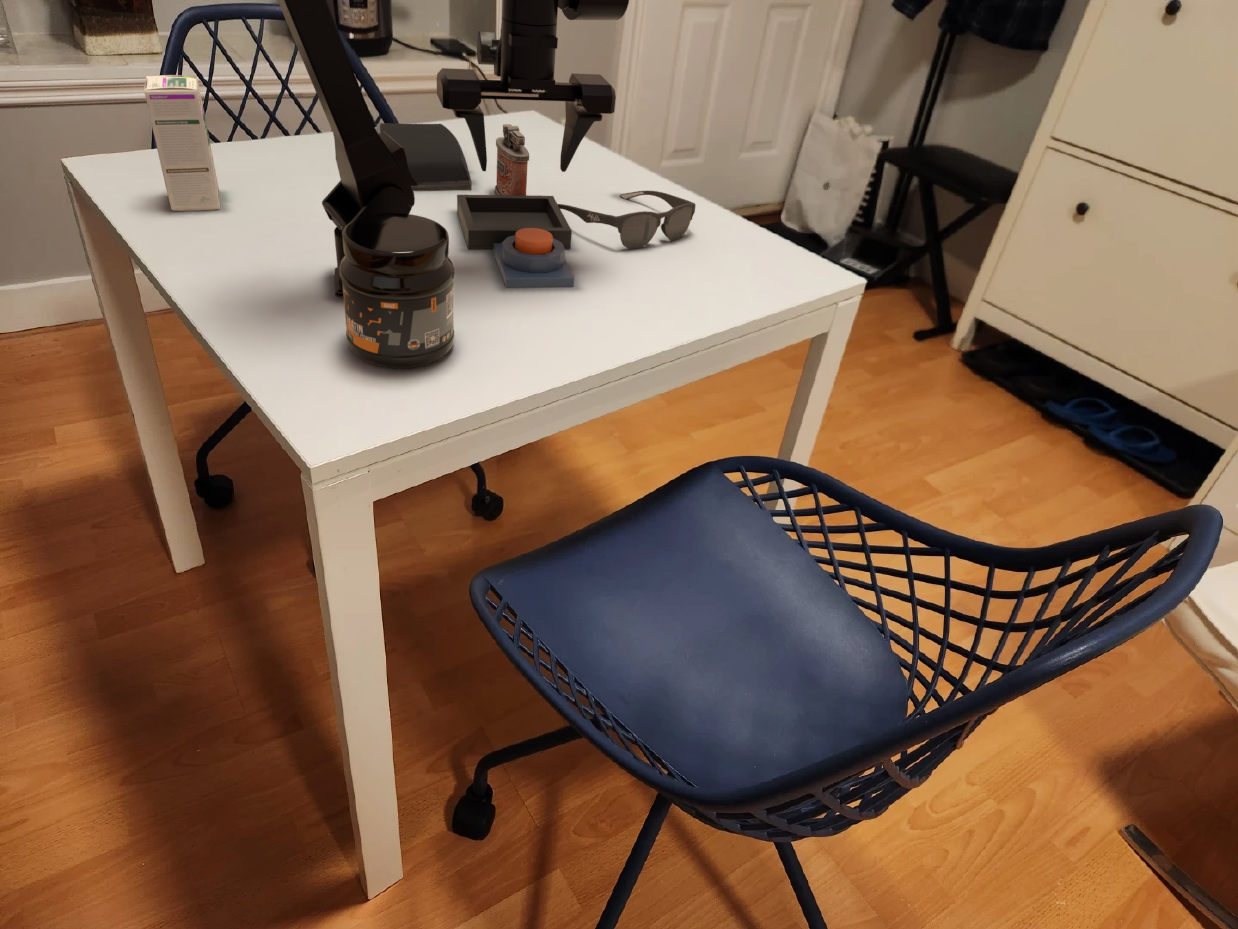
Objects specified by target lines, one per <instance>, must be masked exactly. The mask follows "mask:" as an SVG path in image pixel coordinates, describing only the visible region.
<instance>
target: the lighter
mask: <svg viewBox="0 0 1238 929" xmlns="http://www.w3.org/2000/svg"><path fill="white" fill-rule="evenodd" d="M502 134H503V136H500V137H497V138H496V139H495V146H496V149H497V150H496V151H497V152H496V183H495V184H496V185H495V186H494V195H527V184H528V162H529V161H530V152H529V150H528V149H527V147H525V145H526V144H525V143H526V137H525V136H524V134H523V133H522V132H521V131H520V127H519V126H518V125H512V124H510V123H503V124H502Z"/></svg>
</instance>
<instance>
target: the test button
mask: <svg viewBox="0 0 1238 929" xmlns="http://www.w3.org/2000/svg"><path fill="white" fill-rule="evenodd" d="M552 241H553V236H552V234H551V233H550V232H548V231H546V230H543V229H538V228H524V229H520V230H518V231H517V232H516V234H515V249H516V250H518V251H520V252H522V253H526V254H531V255H543V254H547V253H550V252H552Z"/></svg>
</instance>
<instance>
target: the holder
mask: <svg viewBox="0 0 1238 929" xmlns="http://www.w3.org/2000/svg"><path fill="white" fill-rule="evenodd" d="M558 204H559V203H558V202H557V200H556V199H555V196H554V195H529V194H528V195H527V194H526V195H496V194H456V209H457V210H456V214H457V216H458V220H459V224H460V226H461V230H462V233H463V237H464V240H465V244H466V247H467V249H468V250H493V248H494V243H502V242H503V241H504V240H505V239H506V238H507V237H510V236H514V235H515V234H516V232H517V231H518V230H520V229H524V228H538V229H543V230H546V231H548V232H550V233H551V234H552V236H553V238H554V239H556V240H558V241H560V242H562V244H563V246H564V248H565V250H571V247H572V246H571V245H572V236H573V235H572V233H573V230H572V228H571V226H570V224H569V223H568V221H567V218H565V215H564V213H563V212H562V209H560V208H559V206H558Z"/></svg>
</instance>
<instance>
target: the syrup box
mask: <svg viewBox="0 0 1238 929" xmlns="http://www.w3.org/2000/svg"><path fill="white" fill-rule="evenodd" d="M198 79H199V78H198V77H196V76H192V75H181V74H163V75H151V76H150V75H146V77H145V82H144V89H143V92H144V96H145V101H146V106H147V109H148V114H149V118H150V123H151V127H152V131H153V132H152V133H153V136H154V141H155V145H156V151H157V154H158V159H159V163H160V167H161V171H162V176H163V180H164V185H165V189H166V192H167V198H168V202H169V206H170V209H171V211H176V212H177V211H180V212H181V211H183V212H186V211H187V212H188V211H211V210H212V211H213V210H220V209H221V194H220V187H219V182H218V177H217V173H216V166H215V161H214V155H213V150H212V144H211V139H210V135H209V129H208V124H207V119H206V115H205V110H204V105H203V100H202V95H201V88H200V84H199V80H198Z"/></svg>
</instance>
